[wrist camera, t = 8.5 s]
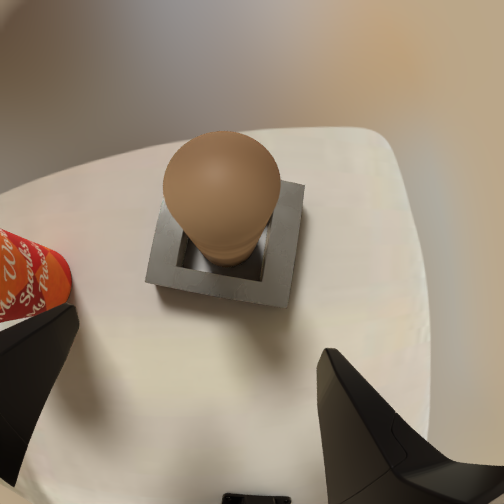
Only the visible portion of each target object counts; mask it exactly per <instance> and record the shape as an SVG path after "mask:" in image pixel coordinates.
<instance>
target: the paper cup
mask: <svg viewBox="0 0 504 504" xmlns="http://www.w3.org/2000/svg"><path fill="white" fill-rule="evenodd" d="M71 284H72V279H71V272H70V268H69V266H68V263H67V262H66V260H65V259H64V257H63V256H62V255H60V254H59V253H57V252H55V251H53V250H51V249H49V248H46V247H44V246H42V245H39V244H37V243H34V242H32V241H29V240H27V239H24V238H22V237H19V236H17V235H15V234H12V233H10V232H7V231H5V230H3V229H0V323H1V322H5V321H10V320H15V319H21V318H26V317H31V316H36V315H38V314H40V313H42V312H45V311H47V310H49V309H52V308H54V307H56V306H58V305H61V304H63V303H66V301H67V300H68V297H69V295H70V291H71Z"/></svg>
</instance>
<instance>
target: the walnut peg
mask: <svg viewBox="0 0 504 504" xmlns="http://www.w3.org/2000/svg"><path fill="white" fill-rule="evenodd" d="M280 188H281V180H280V173H279V169H278V167H277V164H276V162H275V160H274V158H273V157H272V155H271V154H270V153H269V151H268V150H267V149H266V148H265V147H264V146H263V145H261V144H260V143H259V142H258V141H256V140H254V139H253V138H251V137H248V136H246V135H243V134H240V133H236V132H228V131H217V132H210V133H206V134H203V135H200V136H198V137H196V138H194V139H192V140H190V141H189V142H187V143H186V144H184V145H183V146H182V147H181V148H180V149H179V150H178V151H177V152H176V153H175V154H174V156H173V157H172V159H171V160H170V162H169V164H168V166H167V169H166V171H165V175H164V180H163V194H164V199H165V203H166V205H167V208H168V210H169V212H170V213H171V215H172V216H173V218H174V219H175V220H176V222H177V223H178V224H179V225H180V227H181V228H182V229H183V230H184V232H185V233H186V234H187V235H188V237H189V238H190V239H191V240H192V242H193V243H194V244H195V245H196V247H197V248H198V249H199V250H200V251H201V253H202V254H203V255H204V256H205V258H206V259H207V260H208V261H210V262H211V263H212V264H214V265H216V266H219V267H224V268H230V267H235V266H238V265H240V264H242V263H244V262H245V261H246V260H247V259H248V258H249V257H250V256H251V254H252V252H253V250H254V248H255V246H256V244H257V242H258V240H259V238H260V236H261V234H262V232H263V231H264V229H265V227H266V225H267V223H268V221H269V219H270V217H271V215H272V213H273V211H274V209H275V207H276V204H277V202H278V199H279V195H280Z"/></svg>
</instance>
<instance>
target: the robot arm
mask: <svg viewBox="0 0 504 504" xmlns="http://www.w3.org/2000/svg"><path fill="white" fill-rule="evenodd" d="M78 329H79V319H78V315H77V311H76V307H75V306H74V305H73V304H69V303H63V304H61V305H58V306H56V307H54V308H52V309H49V310H47V311H45V312H42V313H40V314H38V315H36V316H33V317H31V318H29V319H27V320H24V321H22V322H20V323H18V324H16V325H13V326H11V327H9V328H7V329H5V330H2V331H0V478H1V479H3V480H4V481H5V482H7V483H8V484H10V485H11V486H12V487H15V484H16V481H17V478H18V474H19V471H20V468H21V465H22V462H23V459H24V456H25V453H26V450H27V447H28V444H29V442H30V439H31V436H32V434H33V431H34V429H35V426H36V424H37V421H38V419H39V416H40V414H41V412H42V409H43V407H44V405H45V402H46V400H47V398H48V396H49V394H50V391H51V389H52V387H53V385H54V383H55V381H56V379H57V377H58V375H59V373H60V371H61V369H62V367H63V365H64V362H65V360H66V358H67V356H68V353H69V351H70V348H71V346H72V343H73V341H74V338H75V336H76V333H77V331H78ZM317 408H318V416H319V424H320V432H321V439H322V448H323V456H324V465H325V474H326V483H327V493H328V504H504V466H491V465H478V464H467V463H460V462H456V461H453V460H451V459H449V458H447V457H446V456H444V455H443V454H441V453H440V452H439V451H438V450H437V449H436V448H434V447H433V446H432V445H431V444H430V443H429V442H427V441H426V440H425V439H424V438H423V437H421V436H420V435H419V434H418V433H417V432H416V431H415V430H414V429H412V428H411V427H410V426H409V425H408V424H407V423H406V422H405V421H404V420H403V419H402V417H401V416H400V415H399V414H398V413H395V410H394V409H393V408H392V407H391V406H390V405H389V404H388V403H387V402H386V401H385V400H384V399H383V398H382V396H381V395H380V394H379V393H378V392H377V391H376V390H375V389H374V388H373V387H372V386H371V385H370V384H369V383H368V382H367V381H366V379H365V378H364V377H363V376H362V375H361V374H360V373H359V372H358V371H357V370H356V369H355V368H354V367H353V366H352V365H351V364H350V363H349V361H348V360H347V359H346V358H345V357H344V356H343V355H342V354H341V353H340V352H339V351H338V350H337V349H335V348H325V349H324V350H323V352H322V355H321V357H320V360H319V362H318V365H317ZM226 497H230V498H226ZM286 500H287V501H286ZM221 504H291V498H290V497H287V496H256V495H242V494H232V493H226V494H224V495H223V498H222V503H221Z"/></svg>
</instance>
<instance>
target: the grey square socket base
mask: <svg viewBox="0 0 504 504" xmlns="http://www.w3.org/2000/svg"><path fill="white" fill-rule="evenodd" d="M304 189H305V185H301V184H297V183H292V182H287V181H282V180H281V188H280V195H279V199H278V202H277V204H276V207H275V209H274V211H273V213H272V215H271V217H270V219H269V225H268V231H267V237H266V243H265V249H264V255H263V261H262V267H261V273H260V279H259V282H258V281H252V280H247V279H241V278H235V277H230V276H224V275H219V274H213V273H208V272H202V271H197V270H192V269H186V268H182V267H183V262H184V257H185V252H186V247H187V242H188V235H187V234H186V233H185V232H184V230H183V229H182V228H181V227H180V225H179V224H178V223H177V222H176V220H175V219H174V218H173V216H172V215H171V213H170V212H169V210H168V208H167V205H166V203H165V199H164V197H163V201H162V205H161V209H160V213H159V217H158V221H157V226H156V230H155V234H154V239H153V244H152V248H151V253H150V258H149V263H148V268H147V274H146V279H145V282H146V283H151V284H155V285H160V286H165V287H170V288H174V289H179V290H184V291H189V292H195V293H200V294H205V295H210V296H216V297H221V298H227V299H232V300H238V301H244V302H250V303H256V304H262V305H268V306H275V307H281V308H287V306H288V300H289V294H290V288H291V282H292V275H293V269H294V262H295V256H296V249H297V242H298V235H299V228H300V220H301V213H302V205H303V197H304Z"/></svg>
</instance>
